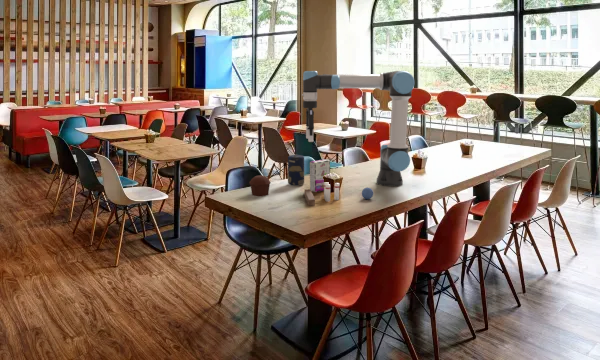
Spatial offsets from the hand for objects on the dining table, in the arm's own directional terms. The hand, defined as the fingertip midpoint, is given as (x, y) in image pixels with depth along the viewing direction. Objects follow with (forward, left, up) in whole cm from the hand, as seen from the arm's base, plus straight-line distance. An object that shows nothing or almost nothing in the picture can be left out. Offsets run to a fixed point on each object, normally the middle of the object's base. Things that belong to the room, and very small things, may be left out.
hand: (309, 140), depth 284 cm
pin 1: (-7, +20, -28) cm, 35 cm away
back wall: (+2, +23, -28) cm, 36 cm away
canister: (+6, -13, -28) cm, 32 cm away
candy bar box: (-6, +1, -28) cm, 29 cm away
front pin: (-12, +23, -28) cm, 38 cm away
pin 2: (-7, +25, -28) cm, 38 cm away
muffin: (+27, +9, -28) cm, 40 cm away
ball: (-28, +23, -25) cm, 43 cm away
